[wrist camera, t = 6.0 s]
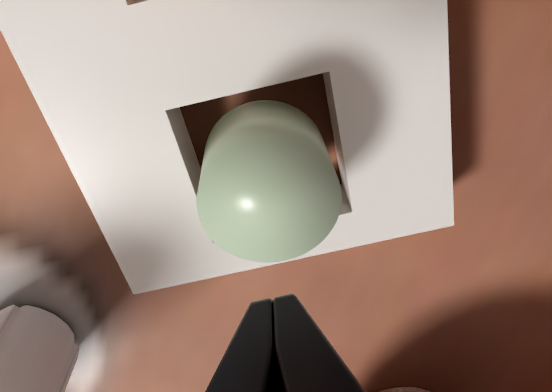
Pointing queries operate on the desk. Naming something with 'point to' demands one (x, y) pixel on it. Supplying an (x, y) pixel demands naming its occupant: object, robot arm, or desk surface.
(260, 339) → the robot arm
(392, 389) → the pottery
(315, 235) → the sage button
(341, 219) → the button console
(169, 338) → the desk surface
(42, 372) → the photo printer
